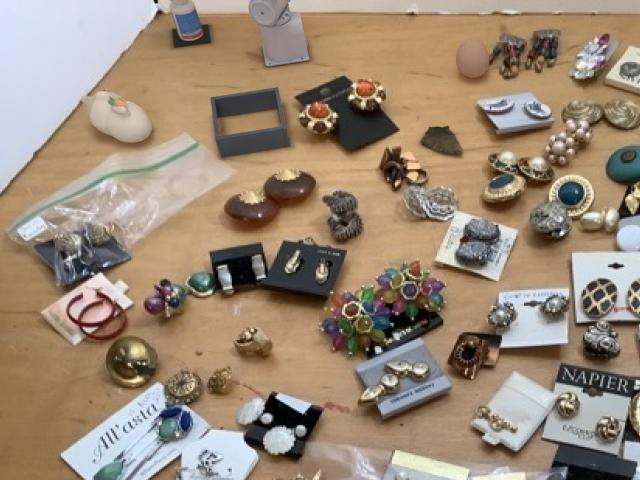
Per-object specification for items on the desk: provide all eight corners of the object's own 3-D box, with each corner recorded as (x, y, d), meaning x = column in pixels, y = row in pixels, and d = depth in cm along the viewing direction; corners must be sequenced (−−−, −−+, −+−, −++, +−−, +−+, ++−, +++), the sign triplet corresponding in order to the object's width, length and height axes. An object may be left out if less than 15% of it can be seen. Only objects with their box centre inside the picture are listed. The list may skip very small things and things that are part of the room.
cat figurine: (143, 102, 154) (79, 72, 156) (124, 140, 154) (60, 110, 156) (169, 121, 163) (109, 93, 166) (151, 157, 163) (91, 128, 166)
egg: (463, 62, 179) (463, 27, 172) (494, 69, 177) (494, 34, 170) (451, 80, 175) (450, 45, 168) (482, 88, 173) (482, 53, 167)
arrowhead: (460, 160, 160) (460, 154, 158) (416, 145, 162) (416, 140, 161) (476, 140, 163) (476, 134, 162) (433, 125, 166) (433, 120, 165)
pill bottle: (208, 33, 183) (196, -8, 175) (190, 44, 181) (177, 3, 173) (191, 25, 185) (178, -16, 177) (173, 36, 182) (159, -6, 175)
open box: (282, 105, 169) (278, 86, 165) (290, 146, 161) (286, 127, 158) (216, 115, 167) (210, 97, 163) (221, 157, 159) (215, 139, 156)
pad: (208, 25, 186) (208, 24, 185) (210, 42, 182) (210, 41, 182) (172, 30, 184) (172, 29, 184) (174, 47, 181) (173, 46, 180)
